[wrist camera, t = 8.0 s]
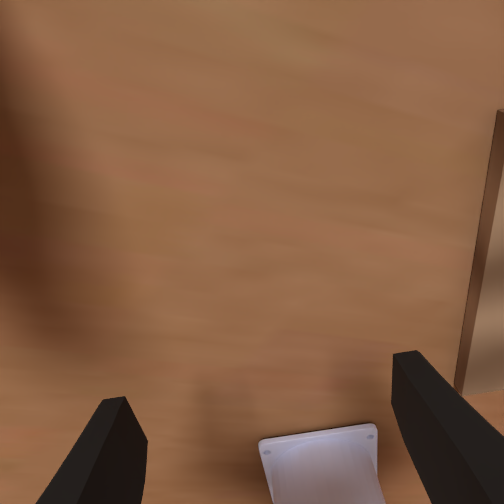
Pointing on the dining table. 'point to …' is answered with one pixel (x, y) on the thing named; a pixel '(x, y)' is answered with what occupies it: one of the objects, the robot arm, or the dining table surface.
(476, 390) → the carrier board
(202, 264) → the dining table surface
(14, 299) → the dining table surface
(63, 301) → the dining table surface
